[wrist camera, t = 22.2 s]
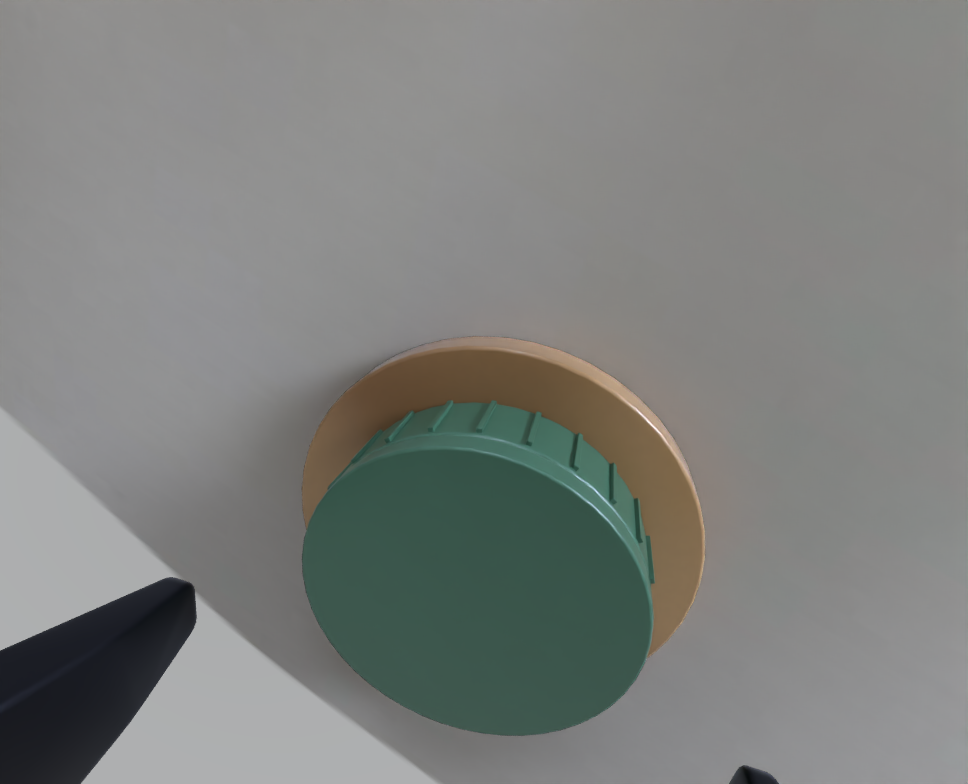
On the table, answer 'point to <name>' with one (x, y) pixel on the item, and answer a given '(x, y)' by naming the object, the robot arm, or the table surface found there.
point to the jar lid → (484, 570)
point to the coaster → (560, 398)
